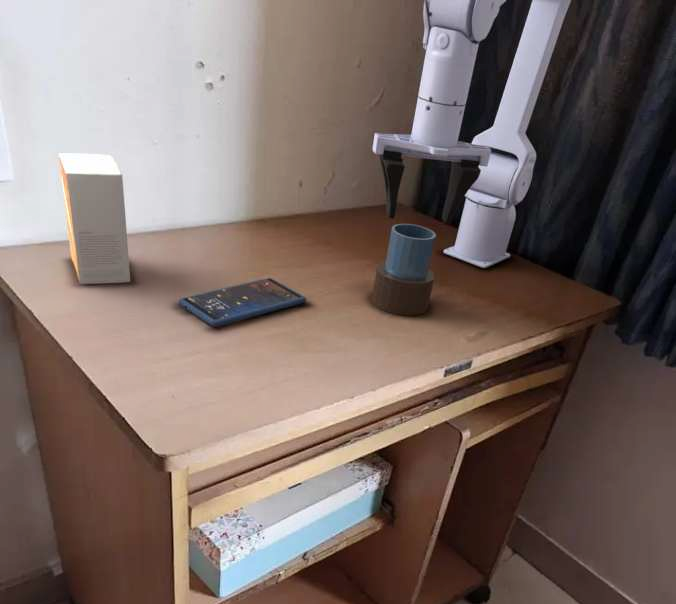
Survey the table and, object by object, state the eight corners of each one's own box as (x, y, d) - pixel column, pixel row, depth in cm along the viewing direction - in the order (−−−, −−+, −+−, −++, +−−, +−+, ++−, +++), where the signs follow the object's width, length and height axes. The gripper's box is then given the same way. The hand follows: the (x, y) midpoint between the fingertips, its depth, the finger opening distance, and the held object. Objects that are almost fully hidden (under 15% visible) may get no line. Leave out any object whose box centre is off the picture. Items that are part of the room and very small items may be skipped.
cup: (400, 259, 91) (407, 220, 88) (435, 273, 89) (444, 234, 86) (376, 268, 87) (383, 228, 84) (412, 283, 85) (420, 242, 82)
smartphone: (308, 297, 86) (213, 322, 77) (307, 303, 87) (213, 329, 78) (270, 276, 90) (176, 298, 81) (269, 282, 90) (176, 304, 81)
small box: (71, 259, 88) (57, 152, 79) (120, 258, 90) (112, 154, 82) (78, 285, 82) (64, 172, 74) (131, 283, 85) (123, 173, 76)
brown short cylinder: (392, 287, 95) (398, 256, 92) (437, 306, 92) (445, 274, 89) (360, 300, 90) (365, 267, 87) (407, 321, 87) (414, 287, 84)
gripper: (388, 99, 74) (369, 223, 83) (509, 115, 77) (479, 234, 86) (377, 88, 80) (360, 205, 88) (491, 102, 82) (464, 216, 91)
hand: (418, 218), depth 87 cm, fingers open, 7 cm apart
